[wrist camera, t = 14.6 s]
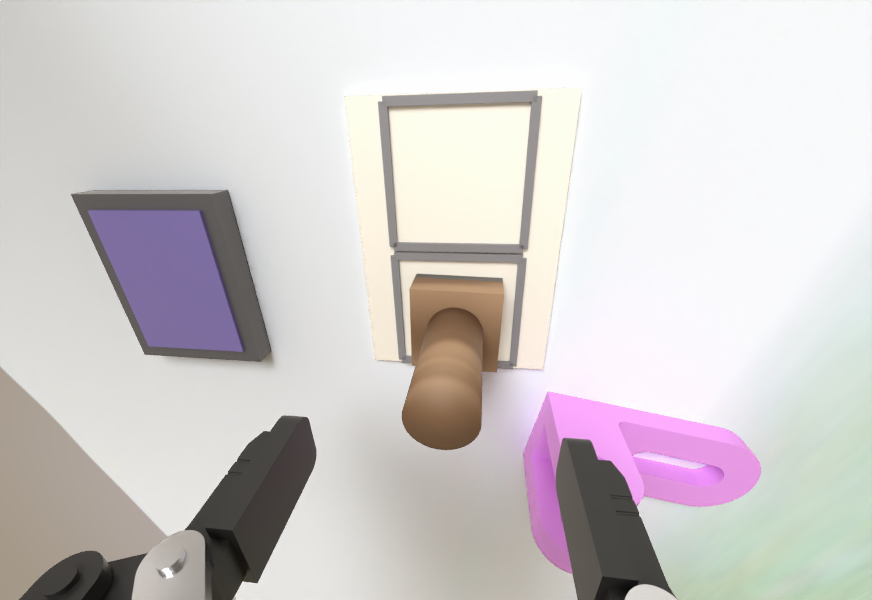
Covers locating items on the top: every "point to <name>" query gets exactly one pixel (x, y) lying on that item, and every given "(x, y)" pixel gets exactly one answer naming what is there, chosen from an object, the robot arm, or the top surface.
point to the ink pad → (178, 271)
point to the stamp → (451, 356)
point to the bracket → (631, 461)
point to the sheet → (463, 203)
